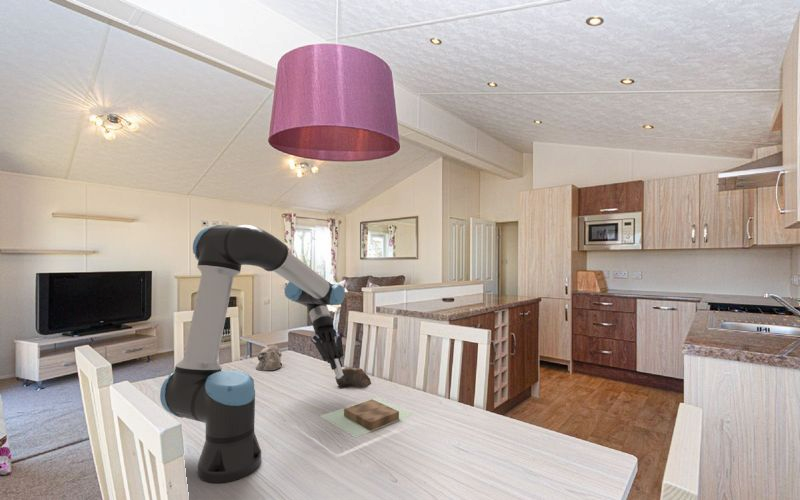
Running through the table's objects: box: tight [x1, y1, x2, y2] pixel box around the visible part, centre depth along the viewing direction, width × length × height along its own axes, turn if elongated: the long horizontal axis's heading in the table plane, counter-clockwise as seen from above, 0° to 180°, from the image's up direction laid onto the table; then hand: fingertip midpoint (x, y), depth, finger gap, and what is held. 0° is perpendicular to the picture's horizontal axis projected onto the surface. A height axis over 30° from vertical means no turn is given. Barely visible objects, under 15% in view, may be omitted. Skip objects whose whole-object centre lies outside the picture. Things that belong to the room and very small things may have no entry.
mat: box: [319, 397, 414, 438], centre depth 130 cm, size 24×20×1 cm
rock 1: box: [255, 344, 283, 371], centre depth 185 cm, size 15×12×10 cm
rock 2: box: [335, 367, 372, 388], centre depth 161 cm, size 14×9×10 cm
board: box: [344, 398, 399, 432], centre depth 128 cm, size 12×2×14 cm
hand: (340, 376), depth 139 cm, fingers closed
